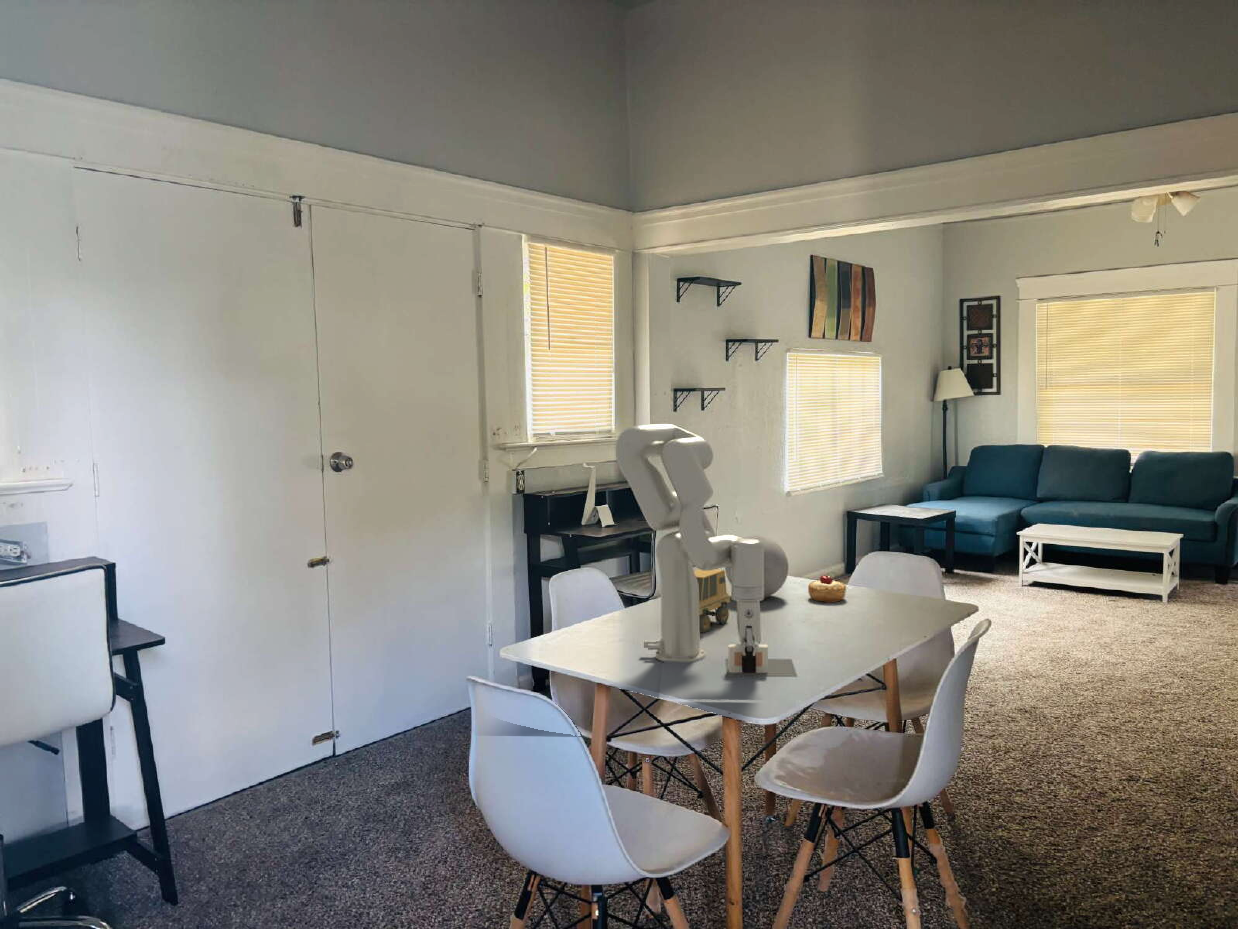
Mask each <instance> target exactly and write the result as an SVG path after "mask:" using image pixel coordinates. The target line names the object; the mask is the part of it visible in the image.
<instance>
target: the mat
mask: <svg viewBox="0 0 1238 929" xmlns="http://www.w3.org/2000/svg"><path fill="white" fill-rule="evenodd" d="M725 671H726V676H727V677H770V678H771V677H773V678H775V677H776V678H777V677H778V678H780V677H781V678H782V677H784V678H787V677H791V678H795V677H798V674H797V672H796V668H795V666H794V663H793V660H792V658H768V673H743V672H729V660H728V658H725Z"/></svg>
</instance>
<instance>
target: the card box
mask: <svg viewBox="0 0 1238 929" xmlns="http://www.w3.org/2000/svg"><path fill="white" fill-rule="evenodd" d="M727 646H728V649H727V650H728V658H727V659H728V660H729V672H742V655H743V644H740V643H736V644H735V643H732V644H730V643H728V645H727ZM746 646H747V645H745V647H746ZM768 654H769V646H768V644H762V643H760V644H758V643H757V644H756V643H755V655H756V672H755V673H768V659H769V655H768Z"/></svg>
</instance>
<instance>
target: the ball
mask: <svg viewBox="0 0 1238 929" xmlns="http://www.w3.org/2000/svg"><path fill="white" fill-rule="evenodd" d="M742 538H743V539H756V540H759V541H761V542H762V544H763V549H764V598H767V597H770V596H772V595H774V594H776V592H778V591H780V589H781V588H782V587H783V586H784V584H785V583H786V580H787V578H788V574H789V561H788V556H787V555H786V552H785V550H784V549H783V547H782V546H781V545H780V544H778V542H777V541H775V540H774V539H772V538H770V537H767V536H765V535H764V536H763V535H759V534H757V535H748V536H745V537H742ZM724 570H725V576H726V578H727V581H728V582H729V584H730V585H731V566H728V567H724Z"/></svg>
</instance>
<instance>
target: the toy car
mask: <svg viewBox="0 0 1238 929" xmlns="http://www.w3.org/2000/svg"><path fill="white" fill-rule="evenodd" d="M693 571H694V574H695V576H696V578H697V581H698V585H699V626H700V633H706V632H708V631H709V629H710V626H711V619H710V618H711V617H715V621H716V623H718V624H719V623H721V625H724V623H725V624H726V623H727V622H728V619H729V616H730V615H729V614H730V613H729V609H728V607H726V606H728V604H731V596H730V595H729V594H728V590H727V584H726V583H727V582H726V581H727V580H726V571H725V569H719V568H718V569H714V570H709V571H704V570H700V569H695V570H693ZM713 610H714V611H713ZM710 616H711V617H710Z"/></svg>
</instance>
